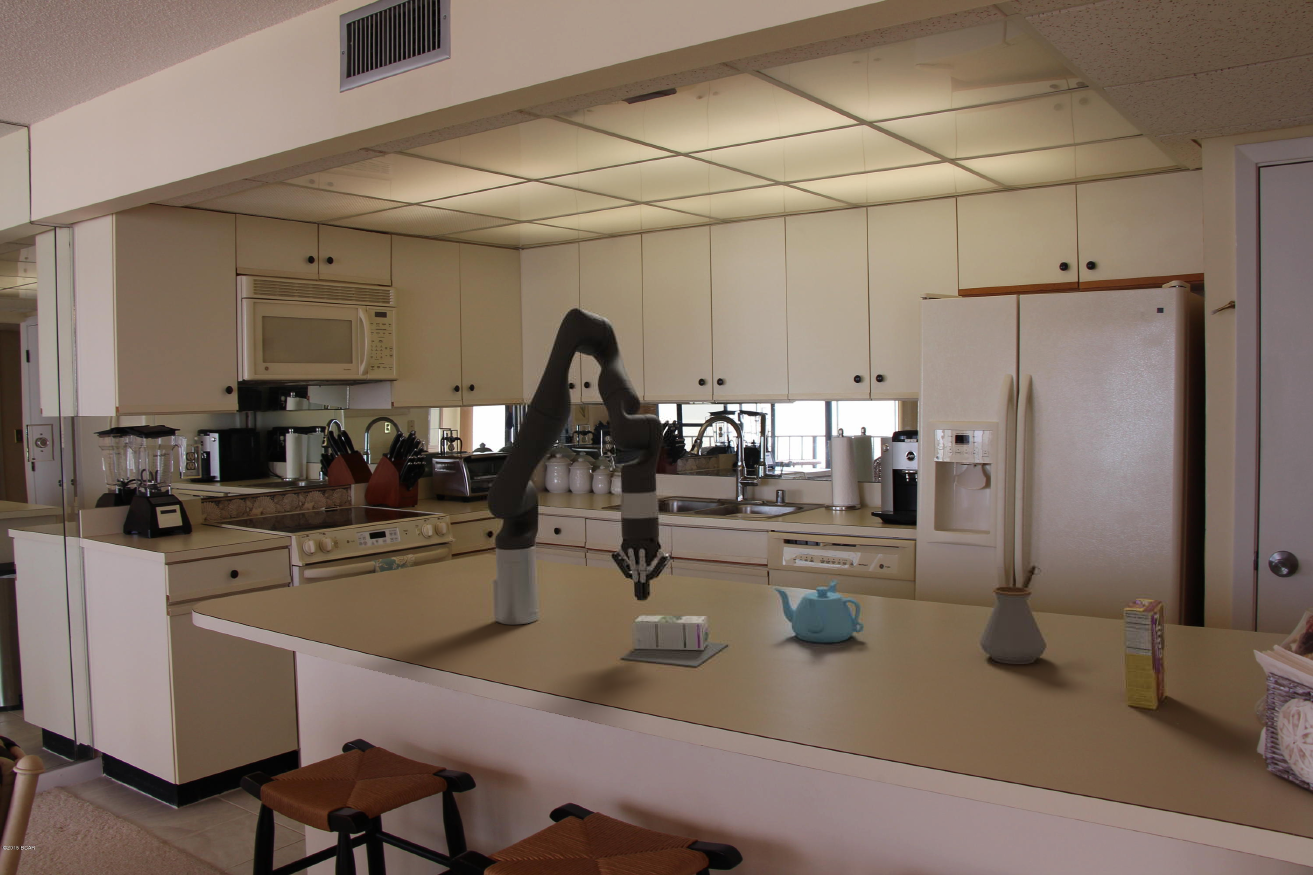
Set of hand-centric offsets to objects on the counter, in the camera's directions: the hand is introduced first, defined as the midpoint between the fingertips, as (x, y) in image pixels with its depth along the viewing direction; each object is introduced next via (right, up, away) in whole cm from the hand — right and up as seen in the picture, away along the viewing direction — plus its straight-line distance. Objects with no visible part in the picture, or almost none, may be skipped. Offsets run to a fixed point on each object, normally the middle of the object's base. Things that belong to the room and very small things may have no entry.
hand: (642, 599), depth 181 cm
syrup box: (-2, -7, +2) cm, 7 cm away
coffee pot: (+72, -8, -10) cm, 73 cm away
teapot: (+37, -9, +6) cm, 38 cm away
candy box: (+80, -9, -39) cm, 90 cm away
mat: (+7, -10, -3) cm, 12 cm away
